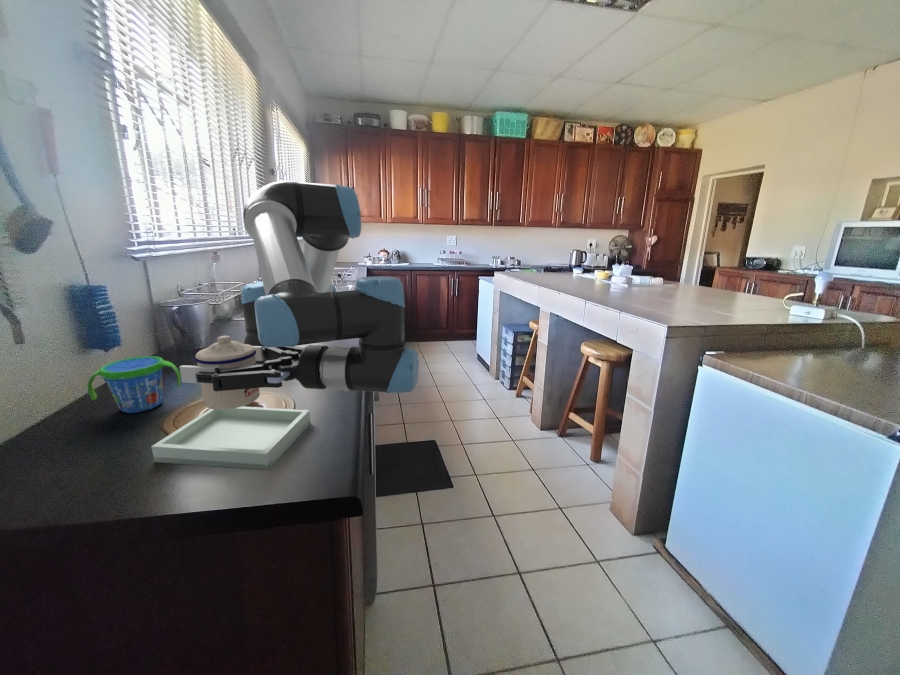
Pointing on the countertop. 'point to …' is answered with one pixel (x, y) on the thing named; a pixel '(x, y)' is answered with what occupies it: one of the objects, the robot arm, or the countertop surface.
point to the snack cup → (134, 382)
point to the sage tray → (234, 438)
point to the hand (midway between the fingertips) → (208, 362)
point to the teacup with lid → (227, 357)
